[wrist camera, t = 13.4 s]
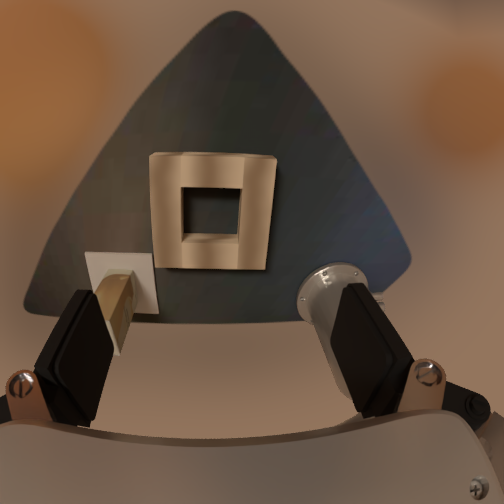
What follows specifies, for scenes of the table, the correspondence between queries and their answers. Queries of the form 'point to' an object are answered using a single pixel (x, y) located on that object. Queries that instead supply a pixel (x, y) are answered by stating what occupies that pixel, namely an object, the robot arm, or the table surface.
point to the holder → (216, 176)
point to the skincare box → (117, 303)
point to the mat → (129, 261)
